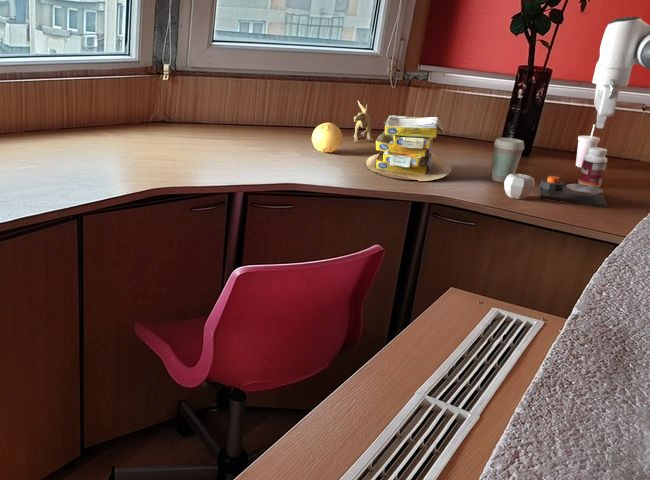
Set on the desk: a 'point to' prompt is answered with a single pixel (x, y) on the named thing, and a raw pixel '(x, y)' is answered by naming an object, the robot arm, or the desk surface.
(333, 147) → the stress ball
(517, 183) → the white faceted lump
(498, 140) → the coffee cup
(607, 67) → the robot arm
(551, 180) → the tare button
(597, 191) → the scale pan
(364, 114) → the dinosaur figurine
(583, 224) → the desk surface
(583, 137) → the smoothie
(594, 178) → the pill bottle
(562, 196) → the scale
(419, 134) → the stacked yellow boxes
